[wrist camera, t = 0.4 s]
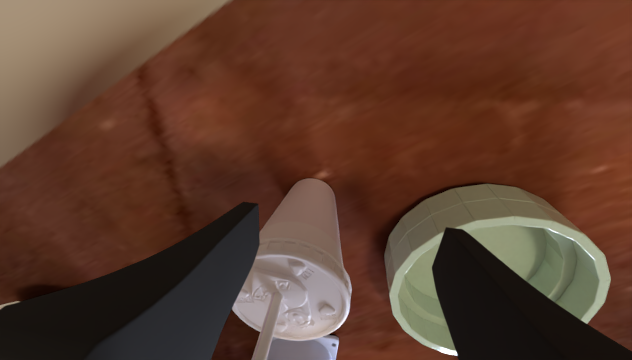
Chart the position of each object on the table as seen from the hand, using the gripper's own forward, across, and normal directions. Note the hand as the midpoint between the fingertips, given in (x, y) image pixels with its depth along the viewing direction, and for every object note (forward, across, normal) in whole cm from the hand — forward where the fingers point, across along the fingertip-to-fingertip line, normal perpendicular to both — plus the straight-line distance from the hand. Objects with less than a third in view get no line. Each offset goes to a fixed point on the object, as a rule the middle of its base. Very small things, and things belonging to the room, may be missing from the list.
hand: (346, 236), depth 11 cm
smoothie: (+10, +2, +5) cm, 11 cm away
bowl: (+10, -11, +8) cm, 17 cm away
